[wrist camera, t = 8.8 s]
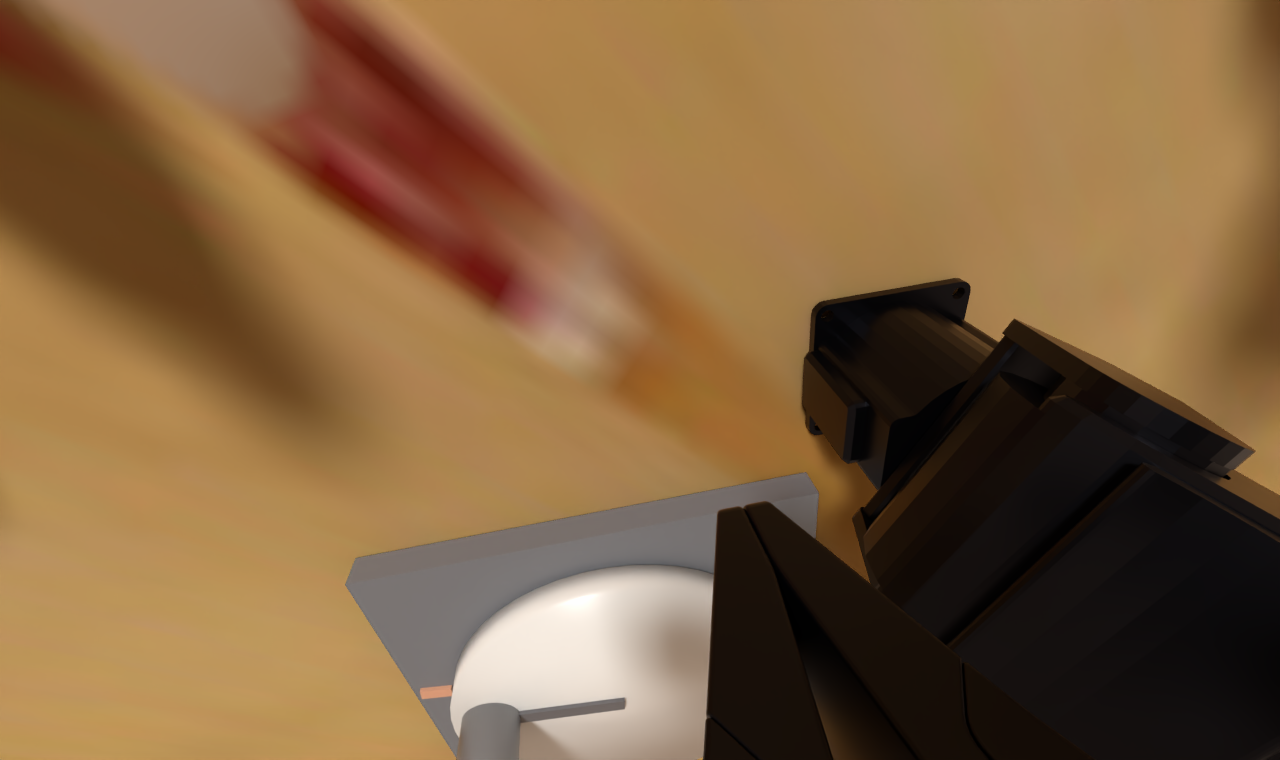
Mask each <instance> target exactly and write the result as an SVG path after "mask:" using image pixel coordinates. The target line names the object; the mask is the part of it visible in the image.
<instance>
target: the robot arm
mask: <svg viewBox="0 0 1280 760" xmlns="http://www.w3.org/2000/svg"><path fill="white" fill-rule="evenodd" d="M957 288H958V291H957V292H956V293H955V294H954V295H953V292H954V291H955V290H956V289H957ZM969 295H970V285H969V284H968V283H967V282H965V281H963V280H961V279H959V278H953V279H947V280H942V281H936V282H930V283H924V284H919V285H913V286H907V287H901V288H895V289H890V290H884V291H878V292H872V293H867V294H861V295H855V296H849V297H843V298H838V299H832V300H826V301H822V302H819V303H818V304H817V305H816V306H815V307H814V308H813V310H812V314H811V330H810V349H809V352H808V353H807V354H806V356H805V358H804V375H803V396H802V404H803V406H804V408H805V409H806V427H807V428H808V430H809V431H810V432H811V433H812V434H814V435H821V434H824V435H825V437H826V438H827V440H828V441H829V442H830V444H831V445H832V447H833V448H834V449H835V451H836V452H837V453H838V455H839V456H840V458H841V459H842V460H844V461H845V462H846V463H848V464H849V463H854V462H857V464H858V465H859V466H860V468H861V469H862V470H863V472H864V473H865V474H866V476H867V477H868V478H869V480H870V481H871V482H872V484H873V485H874V486H875V488H876V489H877V490H878V491H877V493H876V494H875V495H874V496H873V497H872V499H871V500H870V501H869V502H868V504H867V505H866V506H865V507H861V508H860V509H859V510H858V511H857V512H856V514H855V515H854V516H853V517H852V520H853V524H854V527H855V531H856V534H857V538H858V541H859V545H860V548H861V552H862V555H863V559H864V562H865V566H866V569H867V573H868V576H869V580H870V583H871V584H870V583H869V582H868V581H866V580H865V579H864V578H863V577H861V576H860V575H859V574H858V573H856V572H855V571H854V570H853V569H852V568H850V567H849V566H848V565H847V564H845V563H844V562H843V561H842V560H840V559H839V558H838V557H837V556H836V555H834V554H833V553H832V552H831V551H829V550H828V549H827V548H826V547H824V546H823V545H822V544H821V543H820V542H818V541H817V540H816V539H815V538H813V537H812V536H811V535H810V534H808V533H807V532H806V531H805V530H803V529H802V528H801V527H800V526H799V525H797V524H796V523H795V522H794V521H792V520H791V519H790V518H789V517H787V516H786V515H785V514H784V513H783V512H781V511H780V510H779V509H778V508H776V507H775V506H774V505H773V504H771V503H770V502H767V501H762V502H757V503H751V504H747V505H745V506H744V507H743V508H742V507H740V506H736V507H731V508H726V509H721V510H719V511H718V512H717V523H716V541H715V559H714V577H713V595H712V613H711V631H710V650H709V668H708V686H707V704H706V718H707V719H706V720H705V735H704V752H703V760H1280V496H1279V495H1278V494H1276V493H1274V492H1272V491H1271V490H1269V489H1267V488H1265V487H1264V486H1262V485H1260V484H1258V483H1256V482H1255V481H1253V480H1251V479H1249V478H1248V477H1246V476H1244V475H1242V474H1241V473H1239V472H1237V471H1235V470H1234V469H1236V468H1237V467H1238V466H1239V465H1240V464H1241V463H1243V462H1244V461H1245V460H1246V459H1247V458H1249V457H1250V456H1251V455H1252V454H1253V453H1254V452H1256V451H1255V450H1254V449H1252V448H1251V447H1249V446H1248V445H1246V444H1245V443H1243V442H1242V441H1240V440H1239V439H1237V438H1236V437H1234V436H1233V435H1231V434H1230V433H1228V432H1227V431H1225V430H1224V429H1222V428H1221V427H1219V426H1218V425H1216V424H1215V423H1213V422H1212V421H1210V420H1209V419H1207V418H1206V417H1204V416H1203V415H1201V414H1200V413H1198V412H1197V411H1195V410H1194V409H1192V408H1191V407H1189V406H1188V405H1186V404H1185V403H1183V402H1181V401H1180V400H1178V399H1176V398H1174V397H1172V396H1170V395H1168V394H1167V393H1165V392H1163V391H1161V390H1159V389H1157V388H1155V387H1153V386H1152V385H1150V384H1148V383H1146V382H1144V381H1142V380H1140V379H1138V378H1136V377H1135V376H1133V375H1131V374H1129V373H1127V372H1125V371H1123V370H1121V369H1120V368H1118V367H1116V366H1114V365H1112V364H1110V363H1108V362H1106V361H1104V360H1102V359H1100V358H1097V357H1095V356H1093V355H1091V354H1089V353H1087V352H1085V351H1083V350H1080V349H1078V348H1076V347H1074V346H1072V345H1070V344H1068V343H1066V342H1063V341H1061V340H1059V339H1057V338H1055V337H1053V336H1051V335H1048V334H1046V333H1044V332H1042V331H1040V330H1038V329H1036V328H1034V327H1031V326H1029V325H1027V324H1025V323H1023V322H1021V321H1019V320H1016V319H1013V321H1012V322H1011V323H1010V324H1009V325H1008V327H1007V328H1006V329H1005V330H1004V332H1003V334H1004V335H1005V336H1004V337H1003V338H1002V340H1001V341H1000V342H997V341H996V340H994V339H993V338H991V337H990V336H988V335H986V334H985V333H983V332H982V331H980V330H979V329H977V328H975V327H974V326H972V325H971V324H969V323H968V322H966V321H964V318H965V313H966V309H967V304H968V300H969ZM828 310H829V314H828V315H827V316H826V317H824V318H821V317H822V314H823V313H824V312H825V311H828ZM815 424H817V425H816V426H815Z"/></svg>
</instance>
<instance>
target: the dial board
mask: <svg viewBox="0 0 1280 760" xmlns="http://www.w3.org/2000/svg"><path fill="white" fill-rule="evenodd" d="M818 498H819V493H818V491H817V489H816V488H815V486H814V484H813V483H812V481H811V480H810V478H809V476H808V475H807V473H806V472H805V473H800V474H794V475H789V476H784V477H779V478H773V479H768V480H763V481H758V482H752V483H747V484H742V485H737V486H731V487H726V488H721V489H716V490H710V491H705V492H700V493H695V494H690V495H684V496H679V497H674V498H669V499H663V500H658V501H653V502H648V503H642V504H637V505H632V506H627V507H621V508H616V509H611V510H606V511H600V512H595V513H590V514H585V515H579V516H574V517H569V518H564V519H559V520H553V521H548V522H543V523H538V524H532V525H527V526H522V527H517V528H511V529H506V530H501V531H496V532H490V533H485V534H480V535H475V536H469V537H464V538H459V539H454V540H448V541H443V542H438V543H433V544H428V545H422V546H417V547H412V548H407V549H401V550H396V551H391V552H386V553H380V554H375V555H370V556H365V557H359V558H356V559H355V561H354V564H353V566H352V569H351V571H350V574H349V576H348V579H347V581H346V584H345V585H346V587H347V589H348V590H349V592H350V593H351V595H352V596H353V598H354V599H355V601H356V603H357V604H358V606H359V607H360V609H361V610H362V612H363V613H364V615H365V617H366V618H367V620H368V621H369V623H370V624H371V626H372V627H373V629H374V631H375V632H376V634H377V635H378V637H379V638H380V640H381V641H382V643H383V644H384V646H385V648H386V649H387V651H388V652H389V654H390V655H391V657H392V658H393V660H394V662H395V663H396V665H397V666H398V668H399V669H400V671H401V672H402V674H403V676H404V677H405V679H406V680H407V682H408V683H409V685H410V686H411V688H412V690H413V691H414V693H415V694H416V696H417V697H418V699H419V700H420V702H421V704H422V705H423V707H424V708H425V710H426V711H427V713H428V714H429V716H430V718H431V719H432V721H433V722H434V724H435V725H436V727H437V728H438V730H439V732H440V733H441V735H442V736H443V738H444V739H445V741H446V742H447V744H448V746H449V747H450V749H451V750H452V752H453V753H454V755H455V756H456V758H457V751H458V744H459V737H458V735H457V734H456V732H455V730H454V727H453V724H452V721H451V713H450V704H451V698H452V692H453V685H454V679H455V673H456V667H457V663H458V660H459V658H460V655H461V653H462V651H463V649H464V647H465V646H466V644H467V643H468V641H469V639H470V638H471V637H472V635H473V634H474V633H475V632H476V631H477V630H478V629H479V628H480V626H481V625H482V624H483V623H484V622H486V621H487V620H488V619H489V618H490V617H491V616H493V615H494V614H495V613H496V612H497V611H499V610H500V609H502V608H503V607H505V606H506V605H508V604H509V603H511V602H512V601H514V600H515V599H517V598H519V597H521V596H523V595H525V594H527V593H529V592H531V591H533V590H534V589H537V588H539V587H542V586H544V585H547V584H549V583H552V582H554V581H557V580H560V579H563V578H566V577H570V576H573V575H576V574H580V573H584V572H589V571H594V570H599V569H604V568H611V567H620V566H629V565H665V566H678V567H684V568H690V569H695V570H700V571H703V572H707V573H710V574H714V559H715V541H716V523H717V512H718V511H719V510H721V509H726V508H731V507H736V506H740V507H742V508H743V507H744V506H745V505H747V504H751V503H757V502H762V501H767V502H770V503H771V504H773V505H774V506H775V507H776V508H778V509H779V510H780V511H781V512H783V513H784V514H785V515H786V516H787V517H789V518H790V519H791V520H792V521H794V522H795V523H796V524H797V525H799V526H800V527H801V528H802V529H803V530H805V531H806V532H807V533H808V534H810V535H811V536H812V537H813V538H815V537H816V524H817V511H818Z"/></svg>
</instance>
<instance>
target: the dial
mask: <svg viewBox="0 0 1280 760" xmlns="http://www.w3.org/2000/svg"><path fill="white" fill-rule="evenodd" d="M713 577H714V574H710V573H707V572H703V571H700V570H695V569H690V568H684V567H678V566H665V565H629V566H620V567H611V568H604V569H599V570H594V571H589V572H584V573H580V574H576V575H573V576H570V577H566V578H563V579H560V580H557V581H554V582H552V583H549V584H547V585H544V586H542V587H539V588H537V589H534V590H533V591H531V592H529V593H527V594H525V595H523V596H521V597H519V598H517V599H515V600H514V601H512V602H511V603H509V604H508V605H506V606H505V607H503V608H502V609H500V610H499V611H497V612H496V613H495V614H494V615H493V616H491V617H490V618H489V619H488V620H487V621H486V622H484V623H483V624H482V625H481V626H480V628H479V629H478V630H477V631H476V632H475V633H474V634H473V635H472V637H471V638H470V639H469V641H468V643H467V644H466V646H465V647H464V649H463V651H462V653H461V655H460V658H459V660H458V663H457V667H456V673H455V679H454V685H453V692H452V698H451V704H450V713H451V721H452V724H453V727H454V730H455V732H456V734H457V735H458V737H459V744H458V751H457V758H456V760H697V759H699V758H701V757H703V752H704V735H705V720H706V719H707V718H706V704H707V686H708V668H709V650H710V631H711V613H712V595H713Z"/></svg>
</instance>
